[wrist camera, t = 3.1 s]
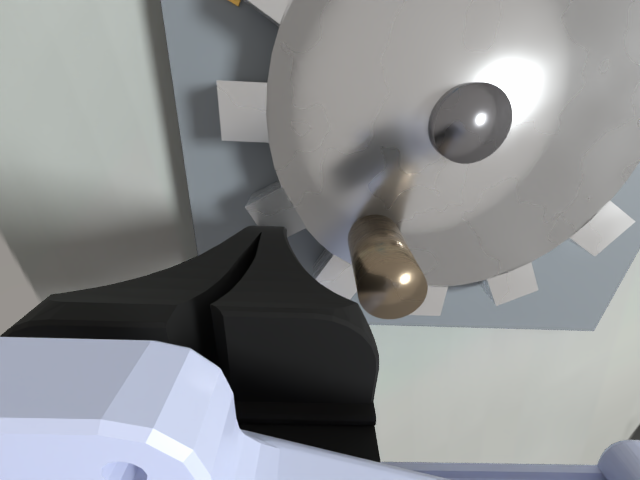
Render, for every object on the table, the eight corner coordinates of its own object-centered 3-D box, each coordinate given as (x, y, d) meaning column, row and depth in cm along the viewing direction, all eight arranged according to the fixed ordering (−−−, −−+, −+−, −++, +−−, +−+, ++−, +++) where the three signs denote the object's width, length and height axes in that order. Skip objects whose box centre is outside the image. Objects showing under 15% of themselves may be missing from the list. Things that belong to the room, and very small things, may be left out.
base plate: (579, 318, 17) (595, 332, 16) (213, 307, 17) (206, 321, 16) (881, -264, 9) (954, -309, 8) (129, -325, 8) (103, -383, 7)
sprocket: (574, 301, 15) (676, 387, 11) (243, 290, 15) (213, 377, 11) (818, -192, 8) (1375, -497, 4) (203, -238, 8) (61, -640, 4)
